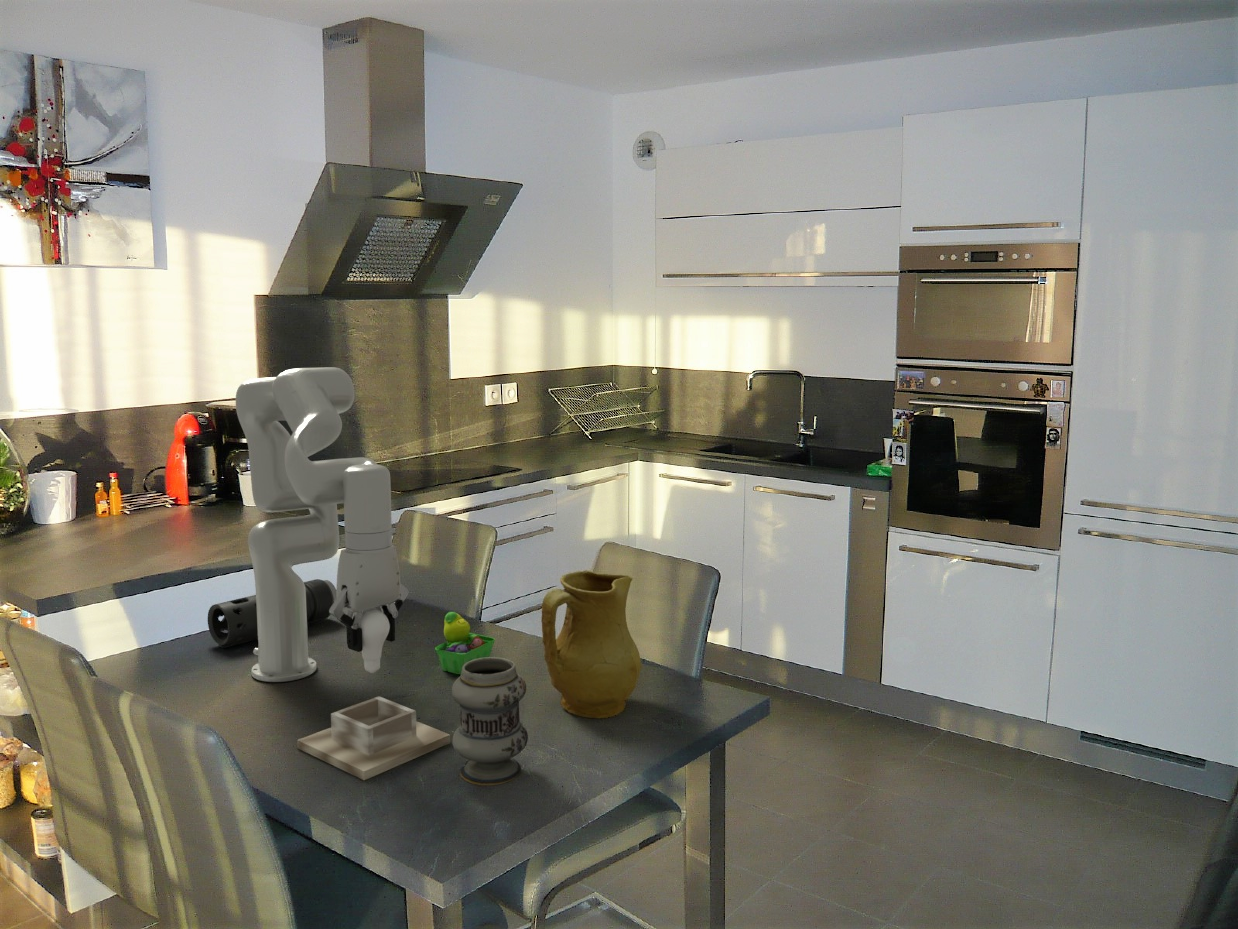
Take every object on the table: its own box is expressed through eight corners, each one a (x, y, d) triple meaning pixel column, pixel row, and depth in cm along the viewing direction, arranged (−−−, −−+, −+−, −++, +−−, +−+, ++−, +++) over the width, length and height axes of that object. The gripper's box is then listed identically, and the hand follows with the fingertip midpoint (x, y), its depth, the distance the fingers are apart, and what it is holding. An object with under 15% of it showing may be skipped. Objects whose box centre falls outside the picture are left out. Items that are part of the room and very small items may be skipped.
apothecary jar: (463, 753, 170) (462, 650, 167) (534, 757, 169) (534, 653, 166) (443, 787, 158) (442, 677, 155) (519, 791, 157) (519, 680, 154)
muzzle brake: (207, 645, 222) (205, 599, 220) (317, 615, 243) (316, 573, 242) (231, 654, 216) (228, 608, 214) (341, 623, 237) (340, 581, 236)
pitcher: (644, 723, 183) (647, 589, 179) (541, 725, 181) (541, 590, 177) (636, 688, 200) (638, 564, 196) (541, 689, 198) (541, 565, 194)
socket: (297, 748, 171) (296, 714, 170) (383, 715, 185) (382, 684, 184) (364, 780, 160) (363, 744, 159) (450, 743, 174) (449, 709, 173)
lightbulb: (394, 666, 174) (392, 604, 172) (387, 679, 168) (385, 615, 166) (358, 666, 173) (355, 604, 171) (350, 679, 167) (347, 615, 165)
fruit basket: (463, 678, 204) (462, 624, 202) (429, 670, 208) (427, 617, 206) (497, 661, 213) (496, 610, 212) (463, 654, 218) (463, 603, 216)
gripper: (395, 527, 176) (398, 627, 179) (310, 545, 162) (314, 653, 165) (424, 534, 171) (426, 636, 174) (338, 553, 158) (342, 663, 161)
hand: (371, 643), depth 170 cm, fingers closed on lightbulb, 6 cm apart
